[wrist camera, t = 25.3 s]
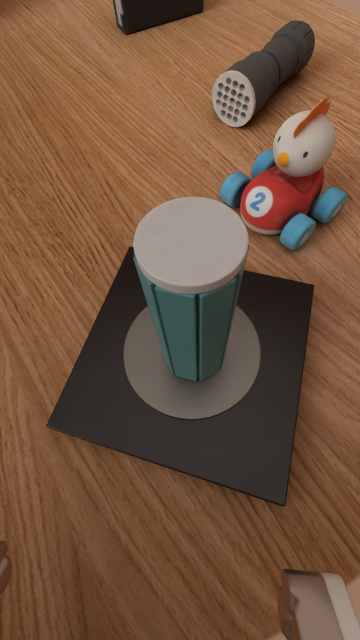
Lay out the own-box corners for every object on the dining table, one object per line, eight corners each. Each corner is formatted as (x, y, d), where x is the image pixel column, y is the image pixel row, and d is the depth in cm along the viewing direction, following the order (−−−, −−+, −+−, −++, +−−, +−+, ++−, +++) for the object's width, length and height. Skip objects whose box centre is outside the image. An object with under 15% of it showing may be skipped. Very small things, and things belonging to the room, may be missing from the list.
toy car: (212, 209, 31) (218, 102, 22) (271, 166, 33) (297, 54, 24) (285, 261, 28) (326, 161, 19) (344, 210, 30) (405, 99, 21)
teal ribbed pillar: (216, 387, 21) (234, 298, 10) (156, 370, 22) (115, 271, 11) (230, 331, 23) (259, 206, 12) (174, 317, 24) (154, 188, 13)
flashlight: (274, 62, 43) (284, 9, 38) (310, 73, 41) (326, 19, 36) (210, 118, 38) (213, 66, 33) (249, 133, 36) (257, 80, 31)
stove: (279, 505, 19) (286, 507, 18) (54, 429, 22) (43, 426, 21) (308, 294, 26) (315, 282, 24) (132, 256, 29) (128, 243, 27)
